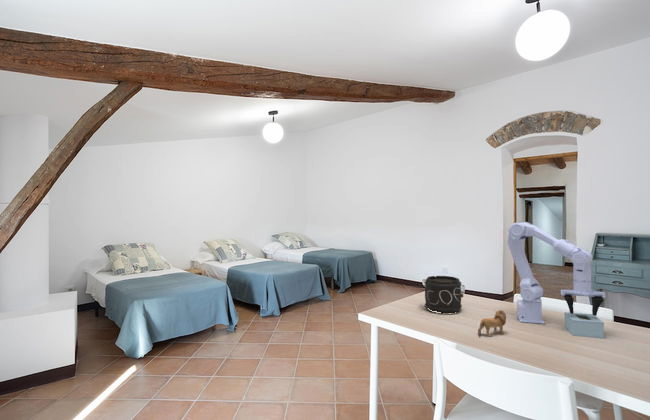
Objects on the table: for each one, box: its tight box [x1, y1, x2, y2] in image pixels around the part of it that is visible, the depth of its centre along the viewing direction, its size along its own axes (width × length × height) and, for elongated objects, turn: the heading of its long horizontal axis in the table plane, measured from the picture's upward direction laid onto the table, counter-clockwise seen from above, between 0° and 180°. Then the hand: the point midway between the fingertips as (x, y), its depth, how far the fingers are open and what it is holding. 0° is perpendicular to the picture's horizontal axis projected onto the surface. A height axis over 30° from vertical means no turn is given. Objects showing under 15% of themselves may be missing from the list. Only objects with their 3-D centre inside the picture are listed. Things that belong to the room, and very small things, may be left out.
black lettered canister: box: [424, 275, 464, 313], centre depth 172 cm, size 18×18×16 cm
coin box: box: [563, 311, 605, 339], centre depth 138 cm, size 10×11×6 cm
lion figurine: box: [477, 309, 507, 338], centre depth 137 cm, size 15×5×9 cm, turn 117°
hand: (582, 314), depth 138 cm, fingers open, 7 cm apart
